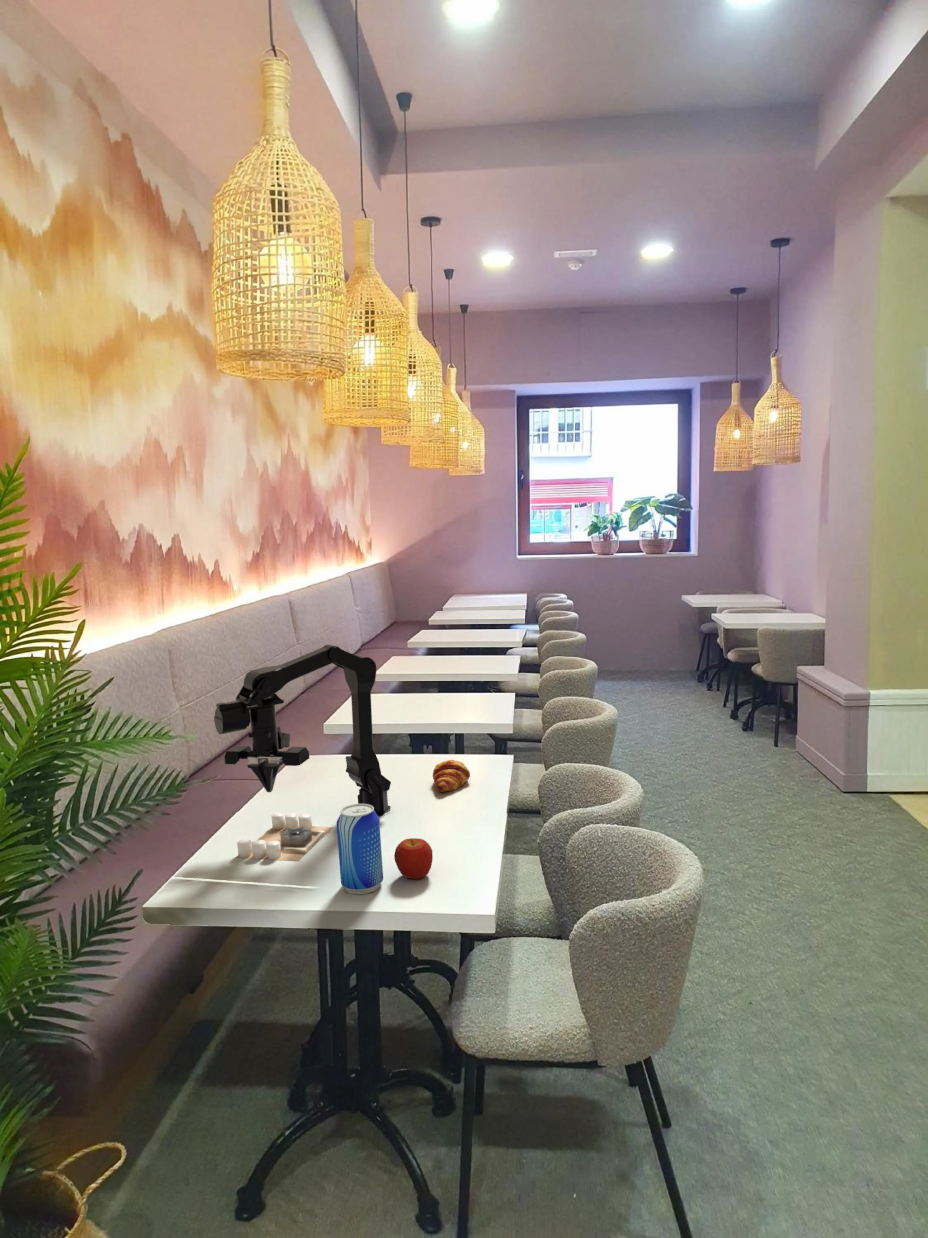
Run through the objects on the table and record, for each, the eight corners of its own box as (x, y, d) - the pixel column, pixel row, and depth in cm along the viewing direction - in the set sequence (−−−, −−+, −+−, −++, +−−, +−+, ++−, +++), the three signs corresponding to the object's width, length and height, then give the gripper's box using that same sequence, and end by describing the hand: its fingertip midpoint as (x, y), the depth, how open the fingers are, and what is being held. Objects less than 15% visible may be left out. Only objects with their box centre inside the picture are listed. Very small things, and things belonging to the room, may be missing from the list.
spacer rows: (314, 826, 196) (313, 814, 195) (277, 860, 177) (276, 846, 177) (276, 824, 198) (275, 812, 198) (235, 857, 180) (234, 844, 180)
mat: (333, 829, 194) (333, 824, 194) (298, 863, 176) (298, 857, 176) (276, 826, 198) (275, 821, 198) (235, 859, 180) (235, 853, 180)
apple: (403, 888, 162) (400, 850, 161) (390, 872, 169) (388, 836, 168) (439, 879, 165) (437, 842, 164) (425, 864, 172) (423, 829, 171)
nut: (315, 837, 189) (314, 827, 189) (302, 849, 182) (301, 839, 182) (291, 836, 190) (290, 825, 190) (277, 848, 184) (276, 837, 184)
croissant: (451, 782, 235) (437, 758, 235) (481, 766, 232) (467, 742, 232) (432, 807, 214) (417, 780, 214) (464, 790, 212) (449, 763, 212)
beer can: (365, 899, 158) (360, 820, 156) (332, 891, 162) (326, 813, 160) (392, 882, 165) (387, 805, 163) (359, 874, 169) (354, 799, 167)
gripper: (316, 716, 191) (321, 781, 193) (244, 716, 196) (250, 779, 198) (295, 729, 180) (301, 798, 182) (219, 728, 185) (226, 795, 187)
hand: (269, 791), depth 188 cm, fingers closed
